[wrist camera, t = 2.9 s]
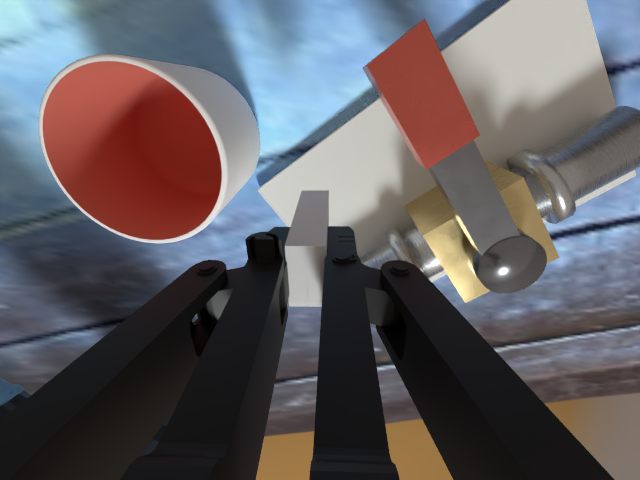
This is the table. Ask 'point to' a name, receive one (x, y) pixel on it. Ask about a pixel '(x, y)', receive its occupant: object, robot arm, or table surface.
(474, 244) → the lever
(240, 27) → the table surface
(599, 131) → the valve
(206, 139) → the cup
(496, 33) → the board
